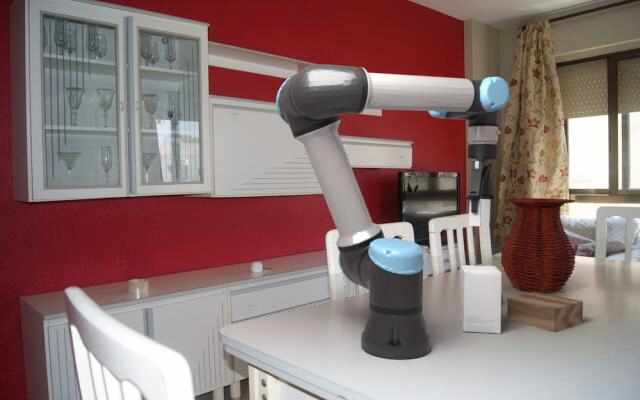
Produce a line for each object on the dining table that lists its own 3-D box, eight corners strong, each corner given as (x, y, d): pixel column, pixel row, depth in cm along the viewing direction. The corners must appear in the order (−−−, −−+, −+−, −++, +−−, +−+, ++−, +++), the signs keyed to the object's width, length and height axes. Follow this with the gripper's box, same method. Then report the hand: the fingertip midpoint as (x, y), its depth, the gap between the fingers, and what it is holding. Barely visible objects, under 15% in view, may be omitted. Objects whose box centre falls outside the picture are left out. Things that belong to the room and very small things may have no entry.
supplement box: (501, 334, 119) (502, 272, 118) (462, 332, 120) (463, 270, 119) (495, 323, 127) (496, 265, 127) (459, 321, 129) (459, 264, 128)
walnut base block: (554, 333, 120) (554, 309, 120) (507, 320, 131) (507, 298, 130) (582, 324, 127) (582, 301, 127) (535, 313, 138) (535, 291, 138)
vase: (556, 300, 150) (558, 201, 149) (486, 288, 168) (487, 199, 167) (587, 289, 166) (589, 199, 165) (519, 278, 183) (521, 197, 182)
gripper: (489, 139, 118) (485, 228, 119) (504, 147, 140) (501, 222, 141) (457, 140, 122) (454, 226, 123) (477, 147, 144) (474, 220, 144)
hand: (479, 224), depth 132 cm, fingers open, 13 cm apart
